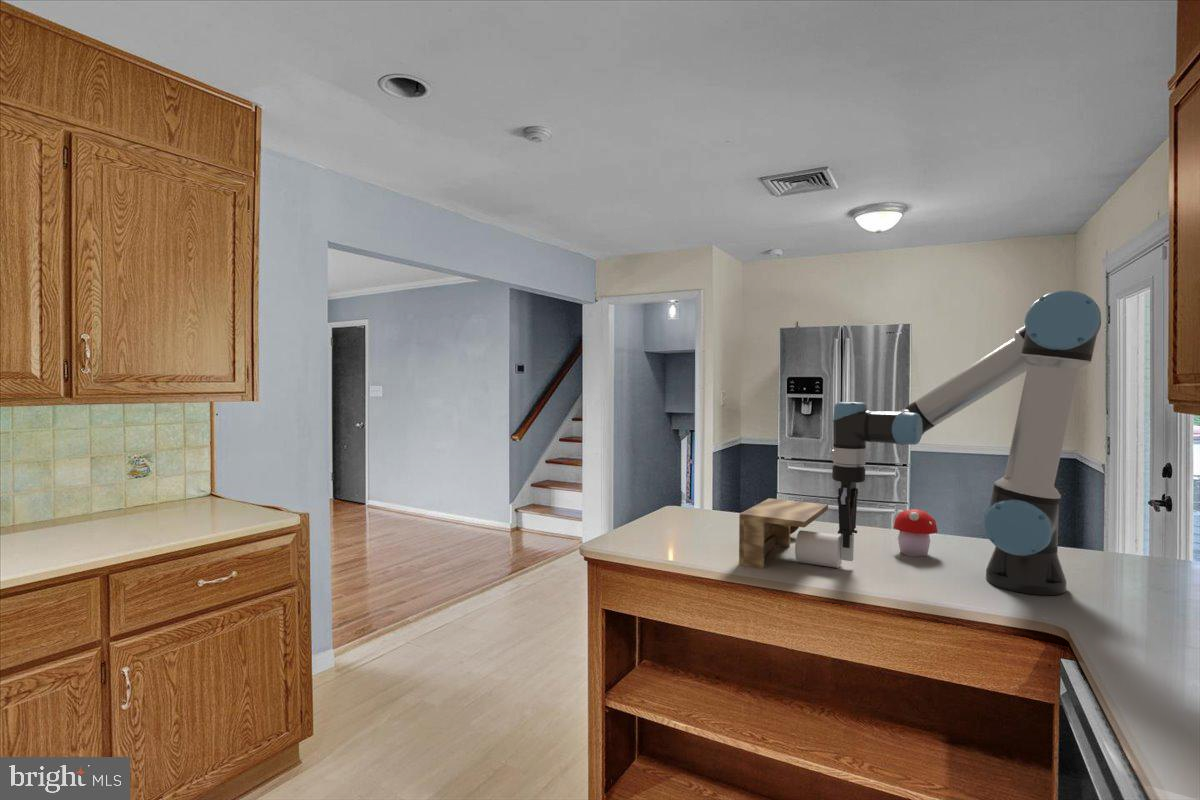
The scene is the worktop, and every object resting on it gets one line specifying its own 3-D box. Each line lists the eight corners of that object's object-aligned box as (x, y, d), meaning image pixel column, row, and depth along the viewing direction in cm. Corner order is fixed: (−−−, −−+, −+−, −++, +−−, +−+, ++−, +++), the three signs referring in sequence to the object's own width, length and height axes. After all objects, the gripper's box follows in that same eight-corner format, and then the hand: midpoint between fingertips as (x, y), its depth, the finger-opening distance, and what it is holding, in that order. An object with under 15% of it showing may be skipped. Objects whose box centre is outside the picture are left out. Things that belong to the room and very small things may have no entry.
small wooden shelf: (827, 552, 168) (828, 504, 168) (803, 575, 148) (804, 521, 148) (768, 543, 177) (769, 498, 176) (738, 564, 157) (739, 513, 156)
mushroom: (901, 545, 175) (901, 503, 175) (943, 553, 167) (944, 509, 167) (886, 552, 168) (887, 508, 167) (930, 561, 160) (931, 515, 159)
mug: (836, 571, 151) (837, 539, 151) (794, 565, 156) (795, 533, 156) (845, 559, 161) (846, 529, 161) (806, 553, 166) (806, 524, 166)
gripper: (838, 460, 161) (836, 551, 162) (826, 466, 150) (824, 563, 151) (869, 462, 157) (867, 555, 158) (860, 469, 146) (858, 569, 147)
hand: (846, 559), depth 154 cm, fingers closed
